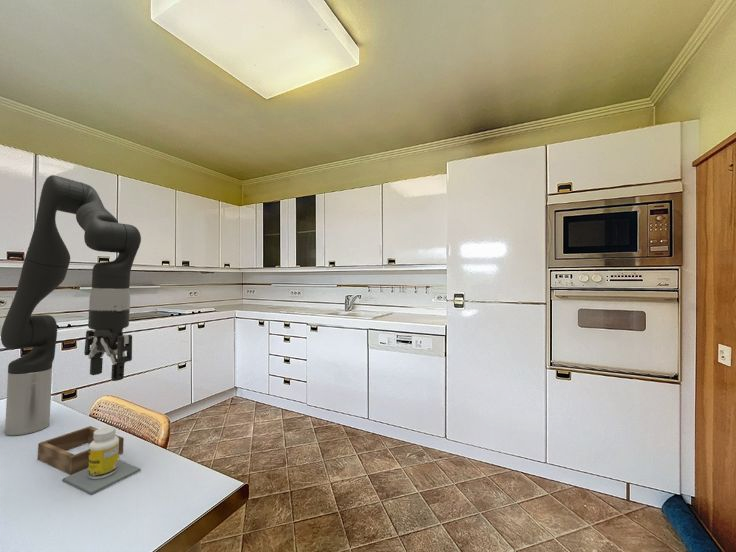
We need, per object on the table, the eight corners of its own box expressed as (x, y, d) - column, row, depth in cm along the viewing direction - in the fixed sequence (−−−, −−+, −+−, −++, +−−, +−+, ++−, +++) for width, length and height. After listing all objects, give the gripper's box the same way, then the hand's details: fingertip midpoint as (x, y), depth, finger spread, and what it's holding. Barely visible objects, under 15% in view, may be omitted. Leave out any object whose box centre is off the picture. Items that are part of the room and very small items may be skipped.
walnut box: (37, 459, 82) (38, 443, 82) (89, 440, 92) (90, 426, 92) (71, 475, 76) (71, 457, 76) (123, 453, 86) (123, 437, 86)
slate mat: (62, 481, 74) (62, 478, 74) (112, 459, 83) (112, 457, 83) (91, 495, 69) (91, 492, 69) (140, 471, 78) (140, 468, 78)
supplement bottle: (82, 475, 75) (84, 431, 75) (110, 464, 80) (112, 423, 80) (95, 482, 72) (97, 437, 73) (122, 470, 77) (124, 428, 77)
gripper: (73, 306, 77) (70, 376, 77) (110, 310, 71) (106, 386, 71) (109, 304, 84) (106, 369, 84) (145, 308, 78) (142, 378, 78)
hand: (106, 377), depth 77 cm, fingers open, 8 cm apart
